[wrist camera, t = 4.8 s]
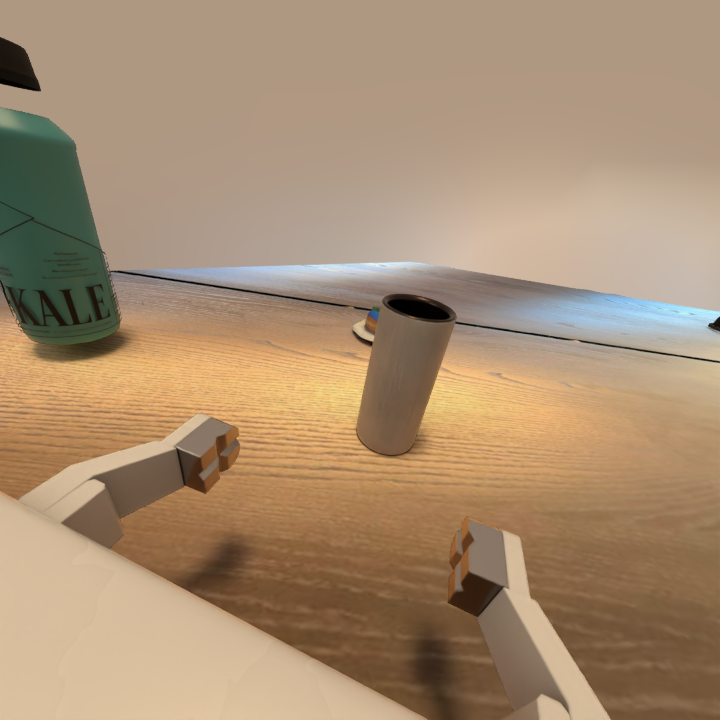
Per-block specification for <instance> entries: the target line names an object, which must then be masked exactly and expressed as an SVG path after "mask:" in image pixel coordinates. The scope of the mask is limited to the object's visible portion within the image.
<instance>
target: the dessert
mask: <svg viewBox="0 0 720 720" xmlns="http://www.w3.org/2000/svg"><path fill="white" fill-rule="evenodd" d="M379 311H380V308H378V307H373V309H372V310H371V311H370V312H369V314H368V316H367V319H366V320H363V321H362V322H357V323H356V324H354V326H353V330H354V331H355V332H356V333H357V334H358V335H359V336H360V337H362V338H364V339H366V340H369V341H372V342H373V341H374V336H375V331H376V326H377V321H378V316H379ZM364 318H365V316H364Z"/></svg>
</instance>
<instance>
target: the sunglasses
mask: <svg viewBox="0 0 720 720" xmlns="http://www.w3.org/2000/svg"><path fill="white" fill-rule="evenodd" d="M708 326H709V327H711V328H713V329H715V330H717V331H720V317H719V318H718V319H717V320H716V321H715V322H714V323H710V324H709V325H708Z"/></svg>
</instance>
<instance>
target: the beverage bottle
mask: <svg viewBox="0 0 720 720" xmlns="http://www.w3.org/2000/svg"><path fill="white" fill-rule="evenodd" d="M0 84H4V85H9V86H13V87H17V88H22V89H27V90H33V91H41V89H40V85H39V82H38V80H37V78H36V76H35V74H34V71H33V68H32V65H31V62H30V60H29V57H28V54H27V53H26V51H25V49H24V48H22V47H21V46H19V45H17V44H15V43H13V42H10V41H8V40H6V39H4V38H1V37H0ZM103 253H104V252H103V251H102V249H101V247H100V243H99V239H98V235H97V231H96V227H95V223H94V219H93V215H92V212H91V208H90V204H89V200H88V196H87V192H86V188H85V185H84V181H83V176H82V173H81V169H80V165H79V161H78V157H77V153H76V144H75V142H74V141H73V140H72V139H71V138H70V137H69V136H68V135H67V134H66V133H65V132H64V131H63V130H61V129H60V128H59V127H58V126H57V125H56V124H54V123H53V122H52V121H51V120H50V119H48V118H45V117H42V116H38V115H33V114H30V113H25V112H21V111H16V110H12V109H6V108H2V107H0V283H1V285H2V288H3V290H2V291H4V292H3V293H4V295H5V298H6V300H7V302H8V301H9V300H10V301H9V302H8V305H9V304H10V305H11V304H12V305H11V306H12V308H13V311H14V313H15V314H16V316H17V317H16V318H18V320H19V324H20V325H21V326H20V325H18V327H19V326H20V327H21V328H22V329H23V331H24V332H23V333H25V334H26V335H27V336H28V337H29V338H30V339H31V340H33V341H35V342H38V343H42V344H51V345H67V344H78V343H85V342H90V341H94V340H98V339H101V338H104V337H107V336H109V335H111V334H113V333H114V332H116V331H117V330H118V329H119V326H120V321H121V320H120V315H121V314H120V315H119V313H118V311H119V310H118V309H117V305H116V304H118V303H116V301H117V300H116V301H115V298H117V297H115V298H114V295H115V294H116V293H115V294H113V290H112V288H113V286H114V284H113V283H112V284H113V286H111V281H112V280H111V281H110V278H109V277H110V276H111V274H110V276H109V274H108V270H107V268H108V267H106V263H105V259H104V255H103ZM104 254H105V253H104ZM109 273H110V272H109ZM112 282H113V281H112ZM0 287H1V286H0ZM2 288H1V289H2ZM114 290H115V289H114ZM5 291H6V293H7V295H8V297H7V295H6V293H5ZM8 298H9V300H8ZM10 302H11V303H10ZM10 305H9V307H11V306H10ZM10 309H11V308H10ZM11 312H12V311H11ZM120 313H121V312H120ZM12 314H13V313H12ZM13 316H14V315H13ZM121 319H122V318H121ZM16 320H17V319H16ZM16 323H17V322H16ZM20 331H21V330H20Z"/></svg>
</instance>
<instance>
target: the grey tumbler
mask: <svg viewBox="0 0 720 720" xmlns="http://www.w3.org/2000/svg"><path fill="white" fill-rule="evenodd" d="M456 318H457V316H456V313H455V312H454V311H453V310H452V309H451V308H450V307H448V306H446V305H444V304H442V303H440V302H438V301H435V300H432V299H429V298H425V297H421V296H416V295H410V294H391V295H388V296H385V297H384V298H383V299H382V301H381V306H380V311H379V316H378V321H377V326H376V331H375V336H374V341H373V346H372V351H371V356H370V361H369V366H368V371H367V376H366V381H365V385H364V390H363V395H362V400H361V405H360V410H359V415H358V420H357V434H358V437H359V438H360V440H361V441H362V442H363V443H364V444H365V445H366V446H367V447H368V448H370V449H372V450H373V451H375V452H378V453H381V454H386V455H398V454H402V453H404V452H406V451H408V450H409V449H410V448H411V447H412V445H413V443H414V441H415V438H416V436H417V433H418V430H419V427H420V424H421V421H422V418H423V415H424V412H425V409H426V406H427V404H428V401H429V398H430V395H431V392H432V389H433V386H434V383H435V380H436V377H437V374H438V371H439V368H440V366H441V363H442V360H443V357H444V354H445V351H446V348H447V345H448V342H449V339H450V336H451V333H452V330H453V328H454V325H455V322H456Z"/></svg>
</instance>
